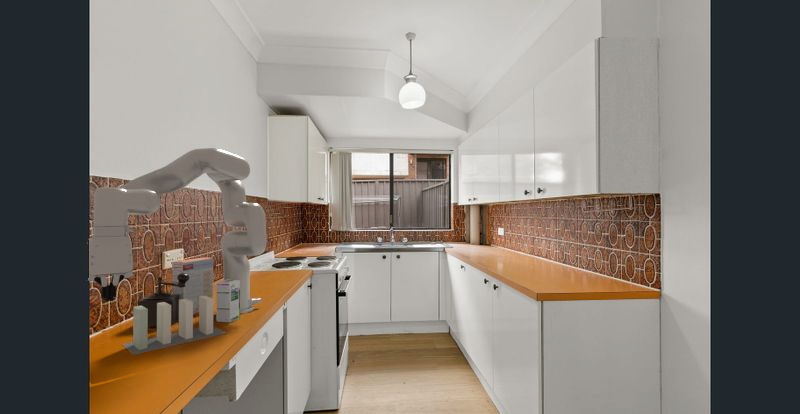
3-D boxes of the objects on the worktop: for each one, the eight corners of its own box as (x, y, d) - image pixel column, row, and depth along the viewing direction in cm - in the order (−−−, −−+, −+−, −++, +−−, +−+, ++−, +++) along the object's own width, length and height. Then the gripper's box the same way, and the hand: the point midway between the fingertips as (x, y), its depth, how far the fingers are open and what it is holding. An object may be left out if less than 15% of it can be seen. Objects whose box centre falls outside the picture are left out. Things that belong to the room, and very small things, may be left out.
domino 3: (185, 333, 121) (185, 298, 121) (192, 337, 117) (193, 301, 117) (178, 335, 120) (179, 299, 120) (185, 339, 116) (185, 302, 116)
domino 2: (164, 338, 117) (164, 301, 117) (170, 342, 113) (171, 305, 113) (156, 339, 115) (157, 303, 115) (163, 344, 111) (163, 306, 111)
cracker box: (202, 309, 154) (202, 256, 154) (214, 310, 152) (214, 257, 152) (170, 318, 141) (171, 261, 141) (183, 319, 139) (183, 261, 139)
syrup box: (230, 323, 134) (230, 282, 134) (215, 322, 135) (215, 281, 135) (240, 319, 139) (240, 279, 139) (226, 318, 140) (226, 278, 141)
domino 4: (205, 329, 126) (205, 295, 126) (213, 333, 122) (213, 298, 122) (199, 330, 124) (199, 296, 124) (206, 334, 120) (206, 299, 120)
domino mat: (211, 326, 130) (211, 325, 130) (226, 334, 122) (226, 333, 122) (122, 345, 111) (122, 344, 111) (133, 356, 103) (133, 354, 103)
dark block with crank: (134, 330, 126) (135, 275, 126) (147, 321, 137) (147, 270, 137) (187, 327, 130) (187, 273, 130) (195, 318, 141) (195, 269, 141)
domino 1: (141, 343, 112) (141, 305, 112) (147, 348, 108) (147, 309, 108) (133, 344, 111) (133, 306, 111) (138, 349, 107) (139, 310, 107)
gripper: (138, 231, 113) (137, 294, 112) (72, 233, 102) (70, 302, 101) (146, 232, 108) (144, 298, 107) (77, 233, 97) (74, 307, 96)
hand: (108, 300), depth 104 cm, fingers closed
